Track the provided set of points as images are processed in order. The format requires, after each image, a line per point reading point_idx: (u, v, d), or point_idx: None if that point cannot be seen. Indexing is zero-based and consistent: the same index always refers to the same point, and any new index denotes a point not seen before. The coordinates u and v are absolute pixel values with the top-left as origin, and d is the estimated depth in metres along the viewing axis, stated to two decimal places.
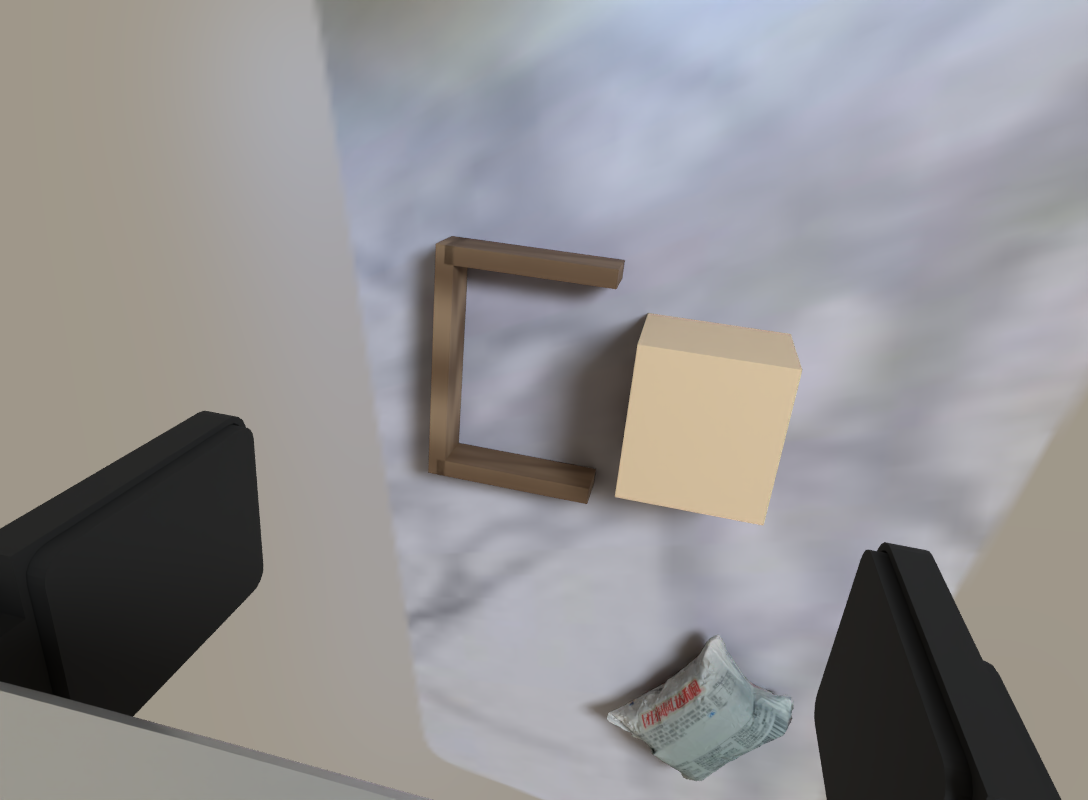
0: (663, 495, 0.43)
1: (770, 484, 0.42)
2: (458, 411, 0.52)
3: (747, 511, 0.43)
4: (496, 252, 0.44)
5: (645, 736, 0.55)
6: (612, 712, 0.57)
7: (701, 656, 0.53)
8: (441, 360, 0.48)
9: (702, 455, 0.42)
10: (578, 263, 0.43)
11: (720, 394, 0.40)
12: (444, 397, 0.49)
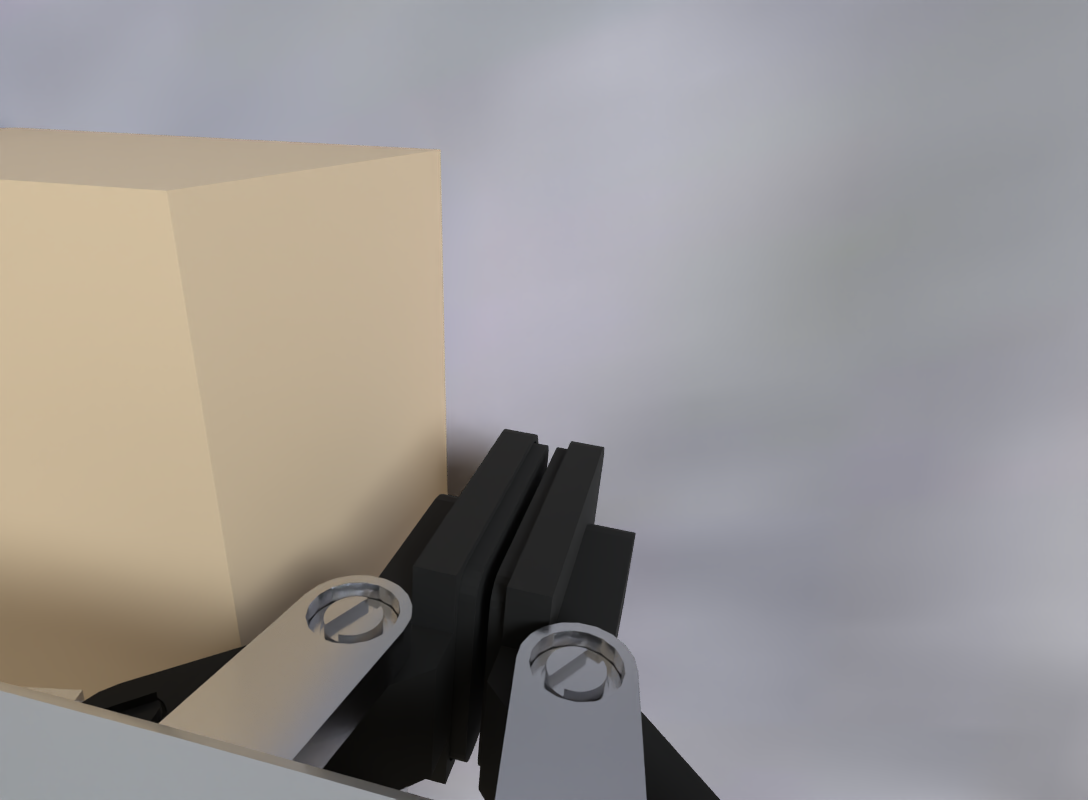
0: None
1: None
2: None
3: None
4: None
5: None
6: None
7: None
8: None
9: None
10: None
11: None
12: None
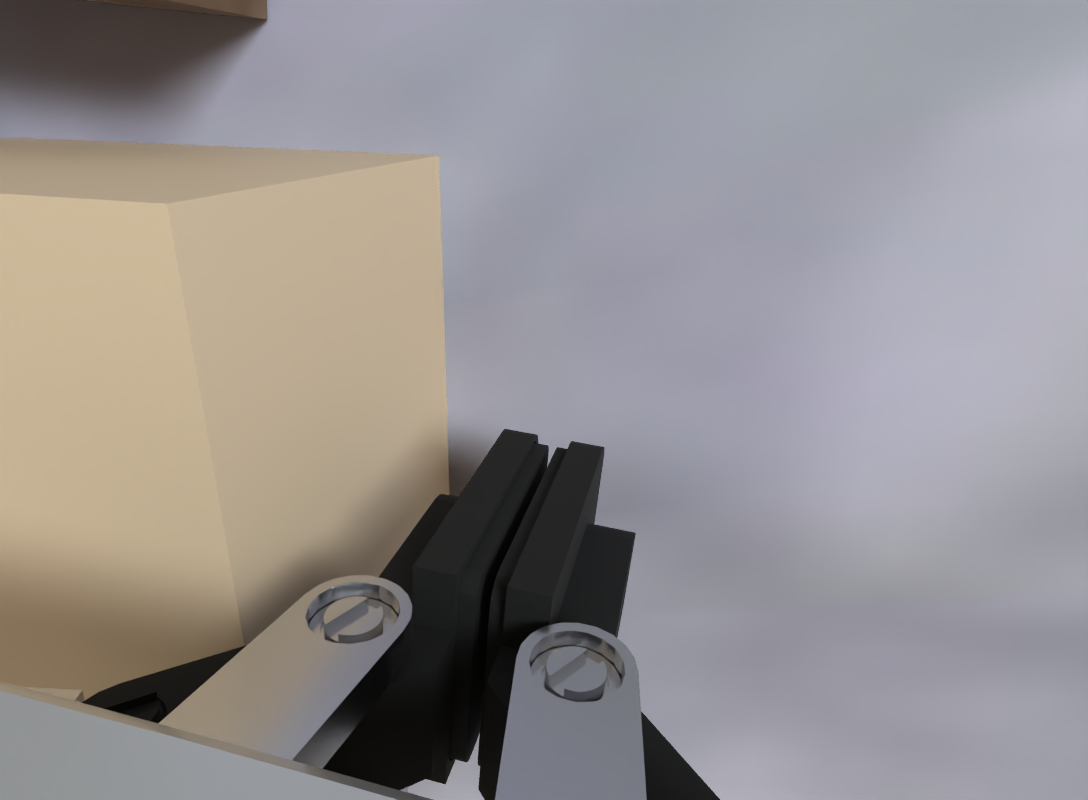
0: None
1: None
2: None
3: None
4: None
5: None
6: None
7: None
8: None
9: None
10: None
11: None
12: None
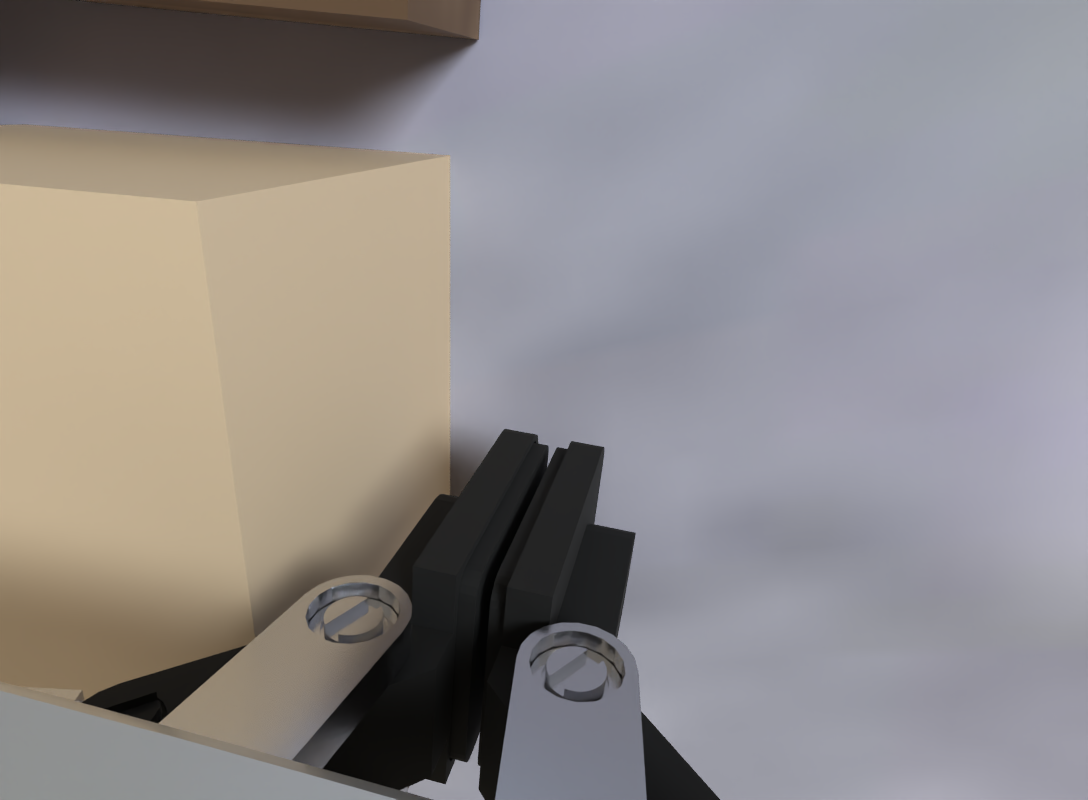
0: None
1: None
2: None
3: None
4: None
5: None
6: None
7: None
8: None
9: None
10: None
11: None
12: None
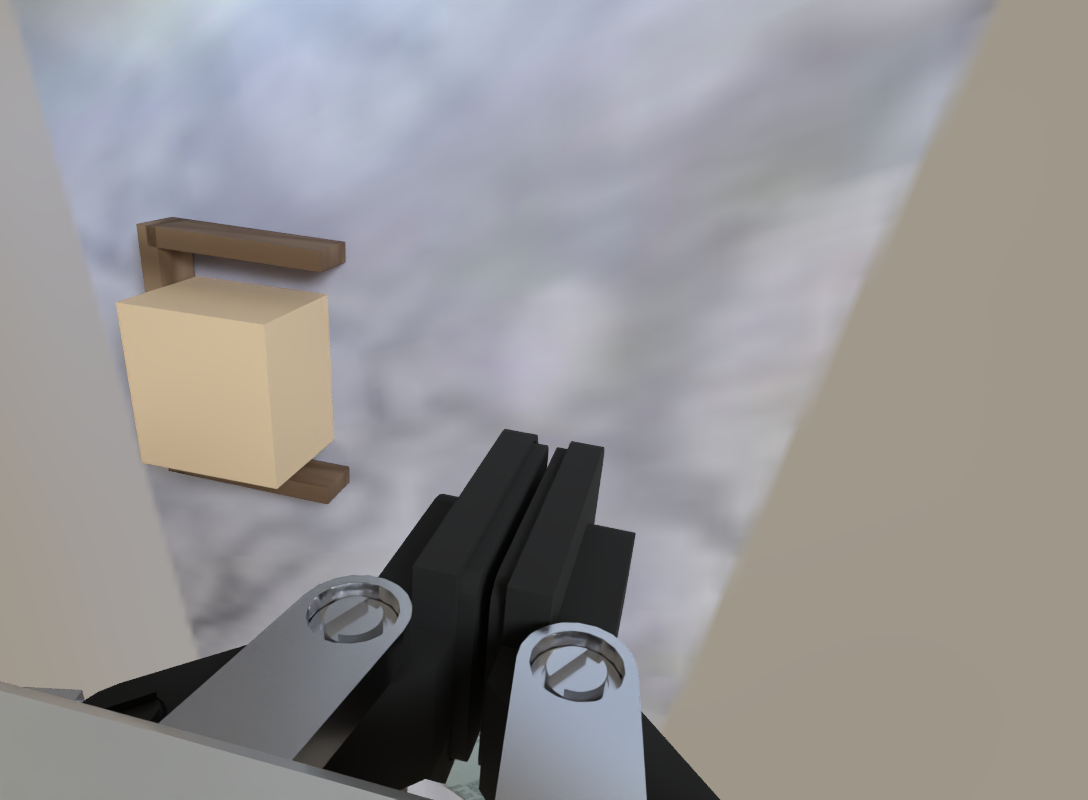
0: (182, 460, 0.42)
1: (271, 445, 0.41)
2: None
3: (259, 474, 0.42)
4: (197, 233, 0.41)
5: None
6: None
7: None
8: None
9: (203, 417, 0.41)
10: (280, 244, 0.40)
11: (201, 352, 0.39)
12: None
